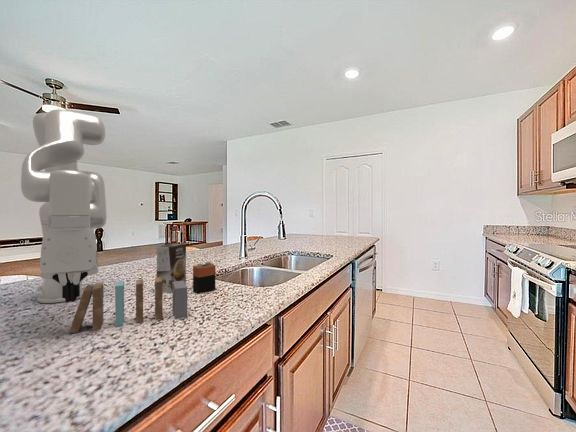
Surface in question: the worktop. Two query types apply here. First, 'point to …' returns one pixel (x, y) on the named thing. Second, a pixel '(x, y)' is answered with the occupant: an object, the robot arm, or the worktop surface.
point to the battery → (204, 277)
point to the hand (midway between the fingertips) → (71, 300)
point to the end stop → (179, 299)
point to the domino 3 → (119, 303)
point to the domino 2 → (97, 306)
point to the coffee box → (171, 264)
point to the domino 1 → (81, 309)
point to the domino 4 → (139, 301)
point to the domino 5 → (158, 299)
